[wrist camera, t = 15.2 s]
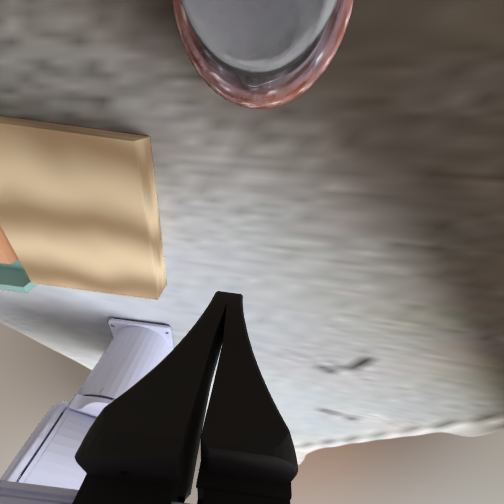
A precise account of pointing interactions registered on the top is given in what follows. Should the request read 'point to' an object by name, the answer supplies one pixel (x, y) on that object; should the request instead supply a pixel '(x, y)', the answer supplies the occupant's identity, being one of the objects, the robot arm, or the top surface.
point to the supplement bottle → (261, 45)
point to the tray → (14, 278)
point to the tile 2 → (6, 250)
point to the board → (81, 207)
